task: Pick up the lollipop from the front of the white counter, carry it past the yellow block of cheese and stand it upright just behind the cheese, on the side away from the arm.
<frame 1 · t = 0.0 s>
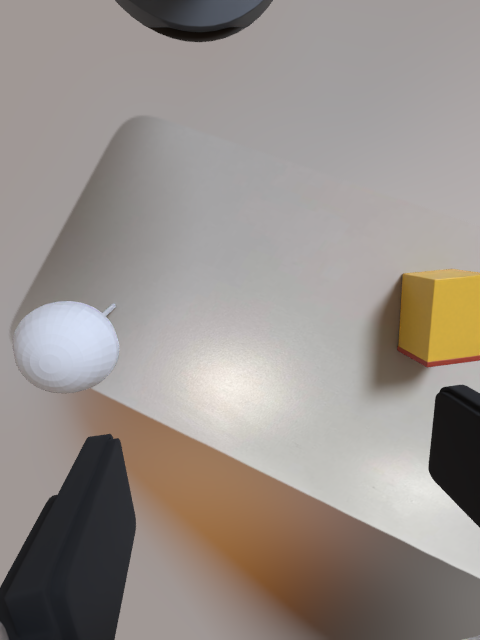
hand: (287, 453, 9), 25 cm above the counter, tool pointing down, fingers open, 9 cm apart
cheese: (424, 310, 37), on the counter
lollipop: (113, 305, 33), on the counter
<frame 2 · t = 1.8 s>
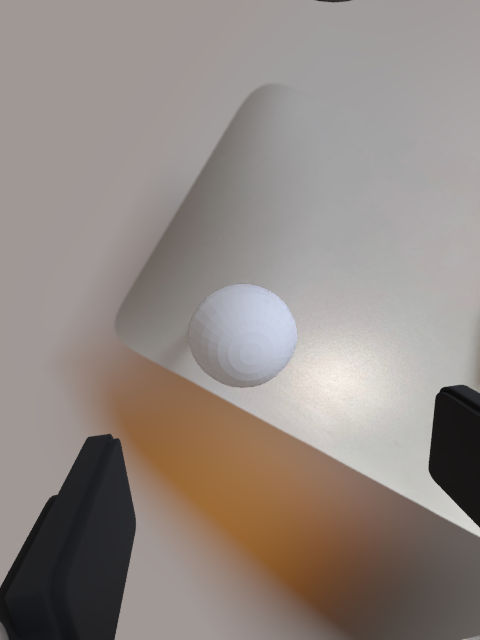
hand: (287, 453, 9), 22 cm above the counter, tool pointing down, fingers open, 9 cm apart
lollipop: (224, 293, 30), on the counter
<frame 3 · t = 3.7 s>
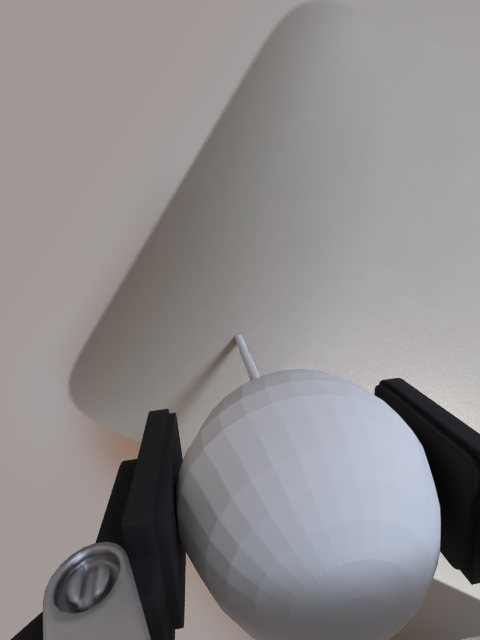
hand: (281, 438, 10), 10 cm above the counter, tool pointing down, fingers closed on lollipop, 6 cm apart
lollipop: (238, 336, 20), on the counter, touching gripper
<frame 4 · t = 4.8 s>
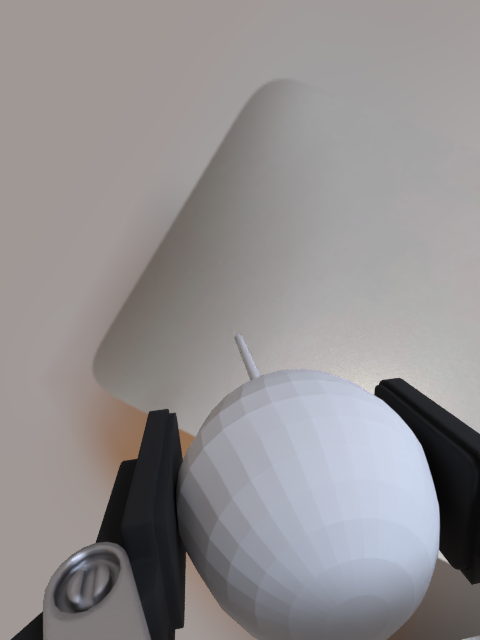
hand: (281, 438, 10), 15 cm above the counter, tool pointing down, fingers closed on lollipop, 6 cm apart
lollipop: (238, 336, 20), point 5 cm above the counter, touching gripper
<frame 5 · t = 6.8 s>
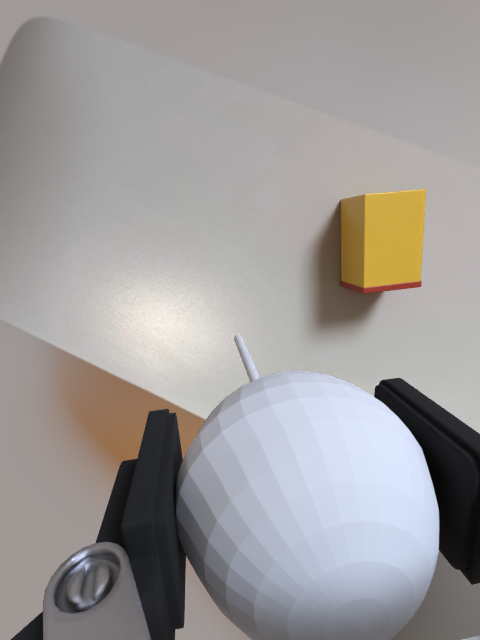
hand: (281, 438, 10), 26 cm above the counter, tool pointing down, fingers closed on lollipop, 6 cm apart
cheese: (366, 241, 35), on the counter
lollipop: (237, 337, 20), point 15 cm above the counter, touching gripper
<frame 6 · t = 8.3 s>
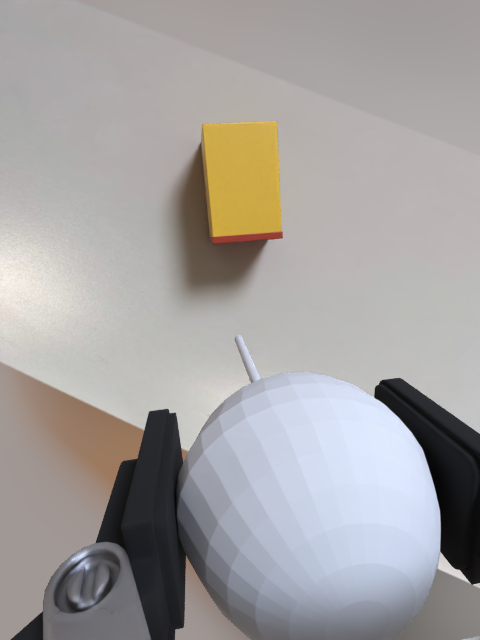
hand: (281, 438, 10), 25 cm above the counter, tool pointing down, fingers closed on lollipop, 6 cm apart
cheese: (236, 191, 31), on the counter
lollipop: (238, 337, 20), point 15 cm above the counter, touching gripper
when the fingers open (10 cm above the counter, at t = 12.2 s): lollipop stays where it is, on the counter.
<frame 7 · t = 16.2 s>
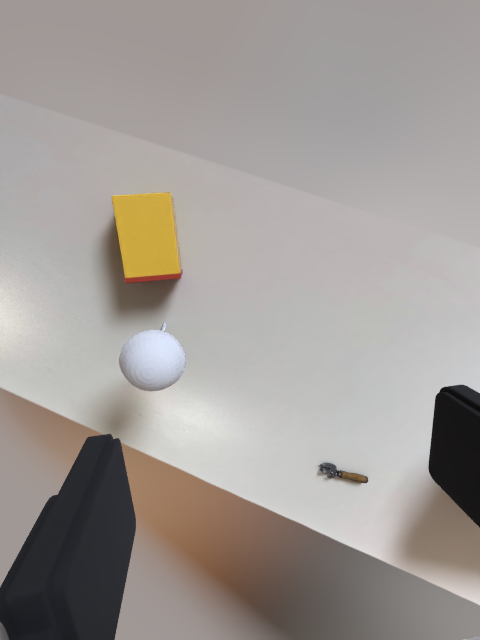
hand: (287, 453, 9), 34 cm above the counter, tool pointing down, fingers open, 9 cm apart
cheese: (152, 237, 40), on the counter
can opener: (342, 470, 53), on the counter
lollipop: (165, 323, 43), on the counter
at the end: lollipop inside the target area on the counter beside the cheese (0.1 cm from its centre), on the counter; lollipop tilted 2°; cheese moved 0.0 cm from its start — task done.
